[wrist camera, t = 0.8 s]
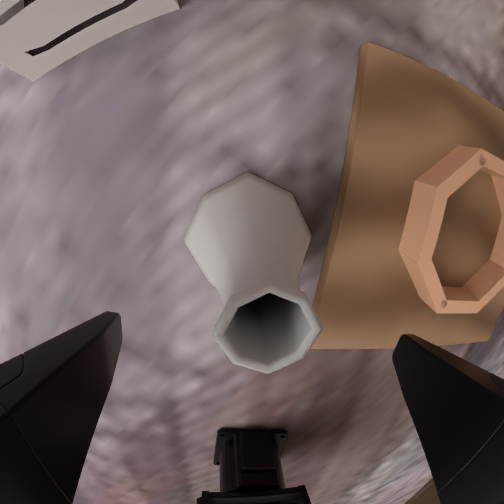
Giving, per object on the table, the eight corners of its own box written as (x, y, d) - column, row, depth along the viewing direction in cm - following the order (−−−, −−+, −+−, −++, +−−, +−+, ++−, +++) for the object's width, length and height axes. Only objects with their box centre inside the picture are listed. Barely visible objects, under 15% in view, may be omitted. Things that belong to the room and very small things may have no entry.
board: (482, 334, 24) (488, 340, 22) (303, 338, 21) (307, 348, 20) (535, 141, 17) (544, 142, 16) (359, 46, 15) (367, 41, 14)
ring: (481, 300, 20) (498, 313, 18) (384, 295, 19) (400, 312, 17) (516, 175, 17) (536, 180, 15) (422, 130, 16) (446, 131, 13)
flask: (246, 149, 17) (271, 155, 7) (330, 233, 19) (414, 317, 9) (163, 239, 18) (106, 335, 9) (248, 310, 20) (265, 433, 11)
